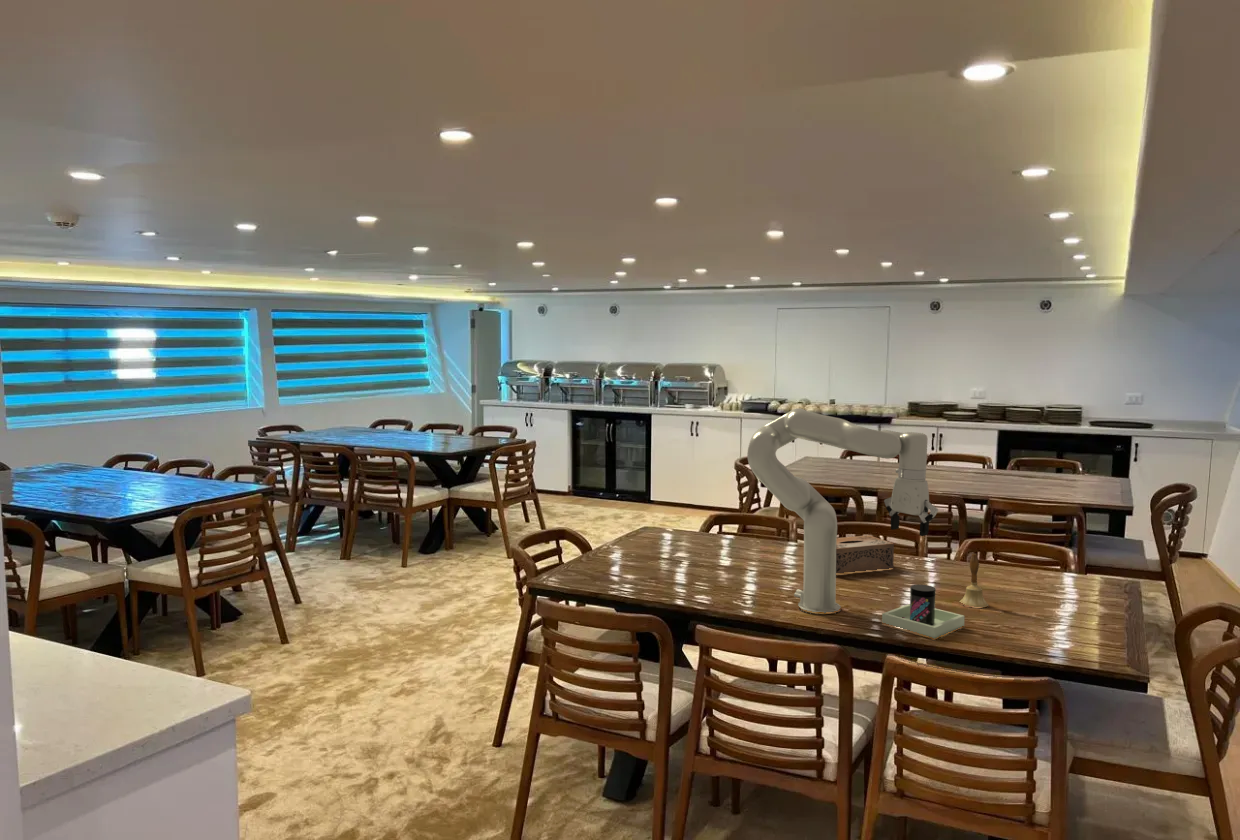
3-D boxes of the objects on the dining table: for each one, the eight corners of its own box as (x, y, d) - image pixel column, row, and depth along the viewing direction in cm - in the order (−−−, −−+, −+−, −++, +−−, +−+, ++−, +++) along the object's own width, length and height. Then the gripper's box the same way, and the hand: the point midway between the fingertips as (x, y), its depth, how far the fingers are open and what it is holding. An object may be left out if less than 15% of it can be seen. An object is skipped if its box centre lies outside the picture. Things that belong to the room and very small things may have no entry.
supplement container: (905, 620, 234) (905, 584, 233) (927, 619, 235) (928, 583, 234) (916, 628, 227) (917, 591, 226) (939, 627, 228) (940, 590, 227)
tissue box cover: (831, 577, 284) (832, 549, 283) (809, 567, 297) (809, 540, 297) (893, 570, 292) (893, 543, 291) (868, 561, 306) (869, 535, 305)
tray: (882, 625, 232) (882, 613, 232) (912, 614, 242) (912, 602, 242) (934, 640, 220) (934, 627, 219) (964, 627, 230) (964, 615, 229)
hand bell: (971, 609, 246) (973, 558, 245) (953, 602, 254) (954, 551, 253) (994, 607, 248) (996, 556, 247) (975, 599, 256) (977, 549, 255)
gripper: (879, 471, 243) (876, 528, 244) (931, 479, 229) (927, 539, 230) (894, 470, 247) (891, 525, 249) (946, 477, 233) (942, 536, 235)
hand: (908, 532), depth 240 cm, fingers open, 9 cm apart
